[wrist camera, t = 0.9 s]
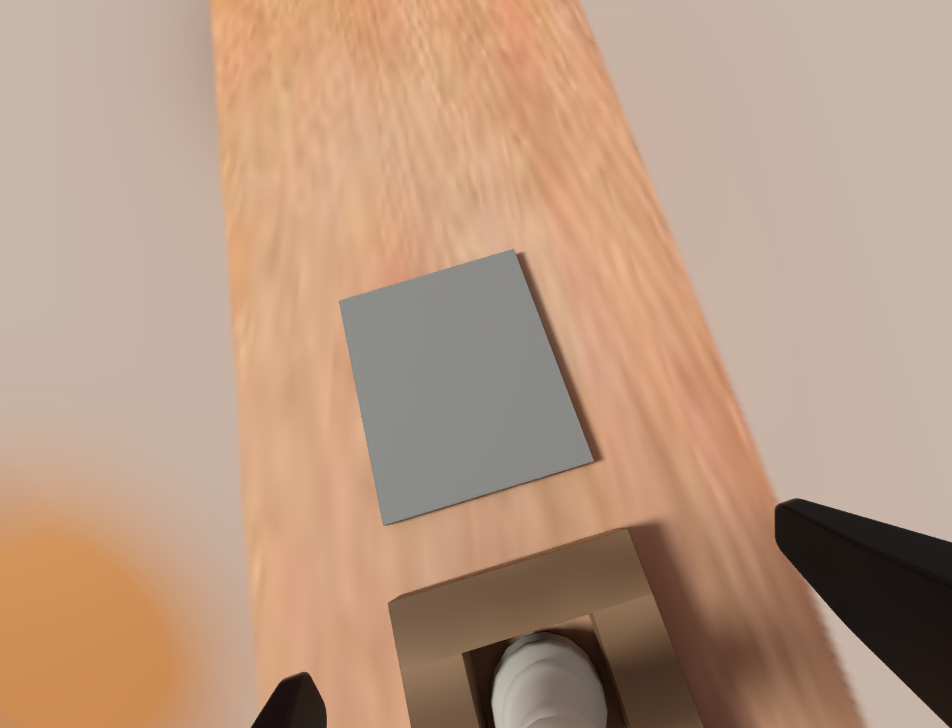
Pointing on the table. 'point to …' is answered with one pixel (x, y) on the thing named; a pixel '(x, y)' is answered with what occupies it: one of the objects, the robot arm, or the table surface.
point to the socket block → (534, 607)
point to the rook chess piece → (547, 686)
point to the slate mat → (458, 387)
